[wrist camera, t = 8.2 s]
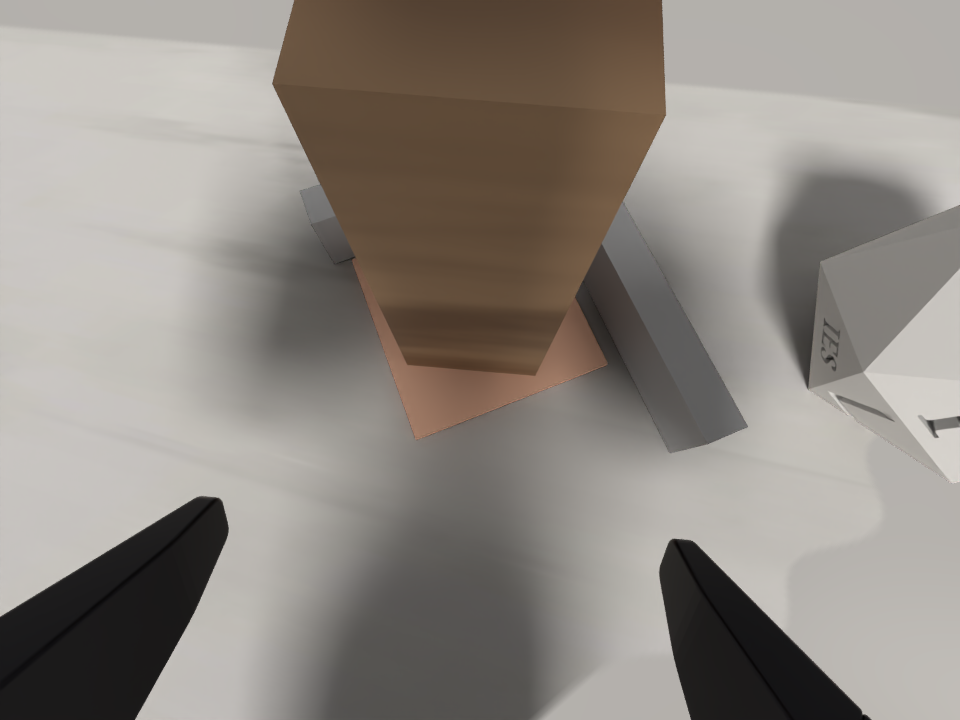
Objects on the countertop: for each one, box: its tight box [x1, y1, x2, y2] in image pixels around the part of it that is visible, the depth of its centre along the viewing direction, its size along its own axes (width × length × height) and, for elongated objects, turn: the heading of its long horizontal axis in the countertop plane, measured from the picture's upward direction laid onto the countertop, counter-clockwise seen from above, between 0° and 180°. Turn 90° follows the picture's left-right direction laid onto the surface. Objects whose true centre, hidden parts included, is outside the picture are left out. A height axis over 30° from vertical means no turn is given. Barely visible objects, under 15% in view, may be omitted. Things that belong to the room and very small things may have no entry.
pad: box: [352, 258, 608, 440], centre depth 19 cm, size 8×8×1 cm
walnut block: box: [272, 0, 666, 376], centre depth 13 cm, size 5×5×13 cm
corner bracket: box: [300, 184, 748, 453], centre depth 18 cm, size 14×11×3 cm
